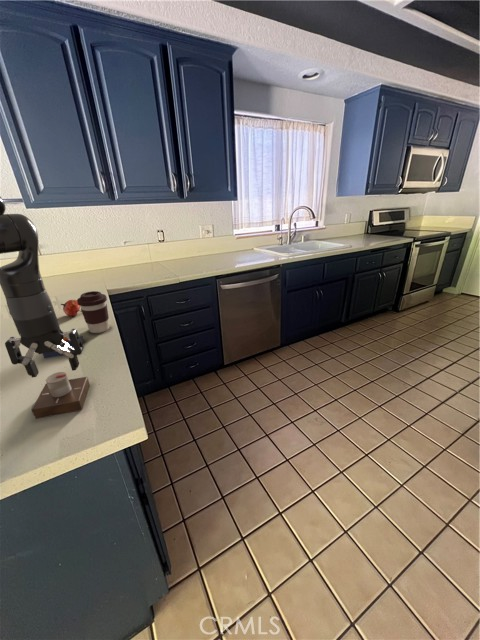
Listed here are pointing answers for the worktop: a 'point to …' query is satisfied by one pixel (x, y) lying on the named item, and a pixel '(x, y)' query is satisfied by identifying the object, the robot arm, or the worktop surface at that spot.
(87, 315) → the coffee cup
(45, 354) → the button box
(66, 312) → the pomegranate
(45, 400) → the panel
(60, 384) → the dial
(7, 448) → the worktop surface
